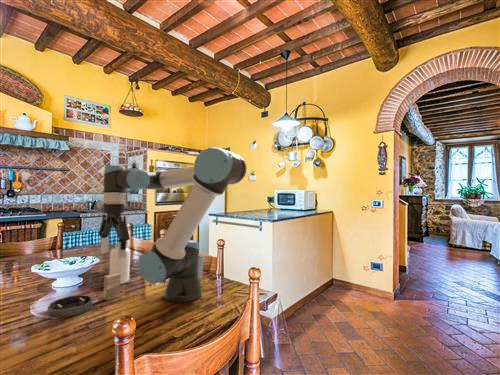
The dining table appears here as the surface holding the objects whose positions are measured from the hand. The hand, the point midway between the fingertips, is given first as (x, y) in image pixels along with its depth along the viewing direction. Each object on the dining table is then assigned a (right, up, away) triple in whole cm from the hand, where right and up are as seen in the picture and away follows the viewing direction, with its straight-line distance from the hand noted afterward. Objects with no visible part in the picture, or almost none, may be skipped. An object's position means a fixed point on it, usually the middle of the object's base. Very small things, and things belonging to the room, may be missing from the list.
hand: (112, 255), depth 105 cm
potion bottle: (-6, -17, +17) cm, 25 cm away
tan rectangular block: (0, -17, -1) cm, 17 cm away
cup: (+29, -18, +24) cm, 42 cm away
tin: (-9, -16, -12) cm, 22 cm away
